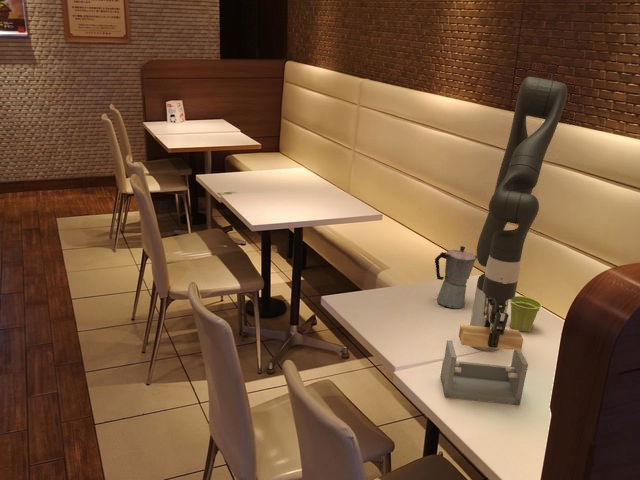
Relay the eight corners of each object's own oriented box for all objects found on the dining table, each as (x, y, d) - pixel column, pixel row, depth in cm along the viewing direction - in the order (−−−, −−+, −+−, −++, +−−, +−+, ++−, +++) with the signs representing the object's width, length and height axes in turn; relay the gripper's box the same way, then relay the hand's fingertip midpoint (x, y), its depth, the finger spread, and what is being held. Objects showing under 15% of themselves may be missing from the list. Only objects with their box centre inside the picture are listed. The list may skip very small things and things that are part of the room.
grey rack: (440, 377, 163) (446, 338, 159) (510, 384, 162) (518, 345, 159) (445, 397, 154) (451, 356, 150) (519, 404, 153) (528, 364, 150)
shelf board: (458, 335, 155) (460, 324, 154) (516, 341, 155) (518, 329, 154) (462, 345, 151) (463, 333, 150) (521, 350, 150) (523, 339, 149)
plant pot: (512, 318, 202) (517, 293, 199) (540, 328, 196) (546, 302, 194) (499, 326, 195) (504, 301, 192) (529, 337, 189) (535, 311, 186)
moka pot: (477, 308, 207) (487, 250, 201) (437, 312, 201) (446, 252, 195) (461, 296, 215) (470, 240, 209) (422, 300, 210) (430, 242, 203)
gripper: (479, 263, 154) (469, 327, 160) (491, 285, 141) (479, 354, 146) (510, 266, 154) (499, 330, 159) (525, 288, 140) (512, 357, 146)
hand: (489, 341), depth 153 cm, fingers closed on shelf board, 5 cm apart
